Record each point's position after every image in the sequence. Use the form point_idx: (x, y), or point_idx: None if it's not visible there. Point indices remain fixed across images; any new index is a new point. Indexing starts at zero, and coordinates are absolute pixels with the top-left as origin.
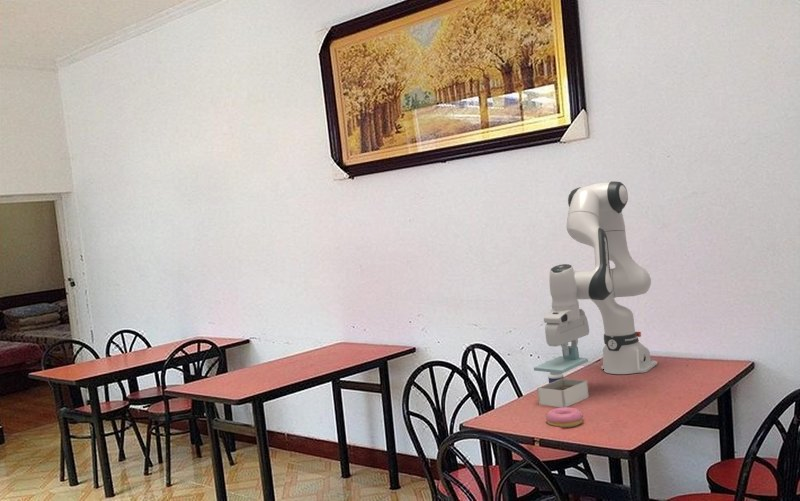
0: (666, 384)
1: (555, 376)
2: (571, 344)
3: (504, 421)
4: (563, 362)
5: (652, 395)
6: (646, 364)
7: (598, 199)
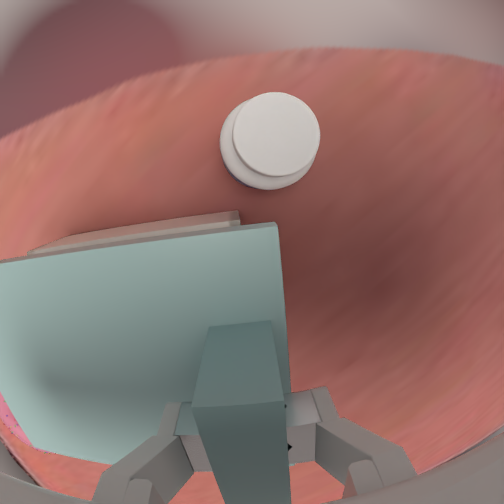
0: (469, 386)
1: (234, 170)
2: (343, 442)
3: None
4: (121, 396)
5: None
6: None
7: None
